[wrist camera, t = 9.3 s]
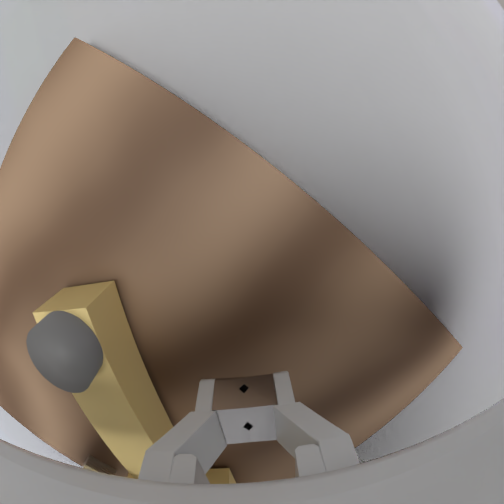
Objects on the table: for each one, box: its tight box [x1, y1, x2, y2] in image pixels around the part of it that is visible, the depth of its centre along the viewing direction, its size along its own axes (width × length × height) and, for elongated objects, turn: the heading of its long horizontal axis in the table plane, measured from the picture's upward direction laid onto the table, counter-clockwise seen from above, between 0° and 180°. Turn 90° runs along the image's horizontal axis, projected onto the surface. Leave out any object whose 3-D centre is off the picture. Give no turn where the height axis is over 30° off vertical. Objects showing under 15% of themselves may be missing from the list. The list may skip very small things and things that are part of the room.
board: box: [0, 38, 463, 483], centre depth 9 cm, size 22×22×6 cm
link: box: [26, 281, 236, 484], centre depth 10 cm, size 18×6×3 cm, turn 9°
